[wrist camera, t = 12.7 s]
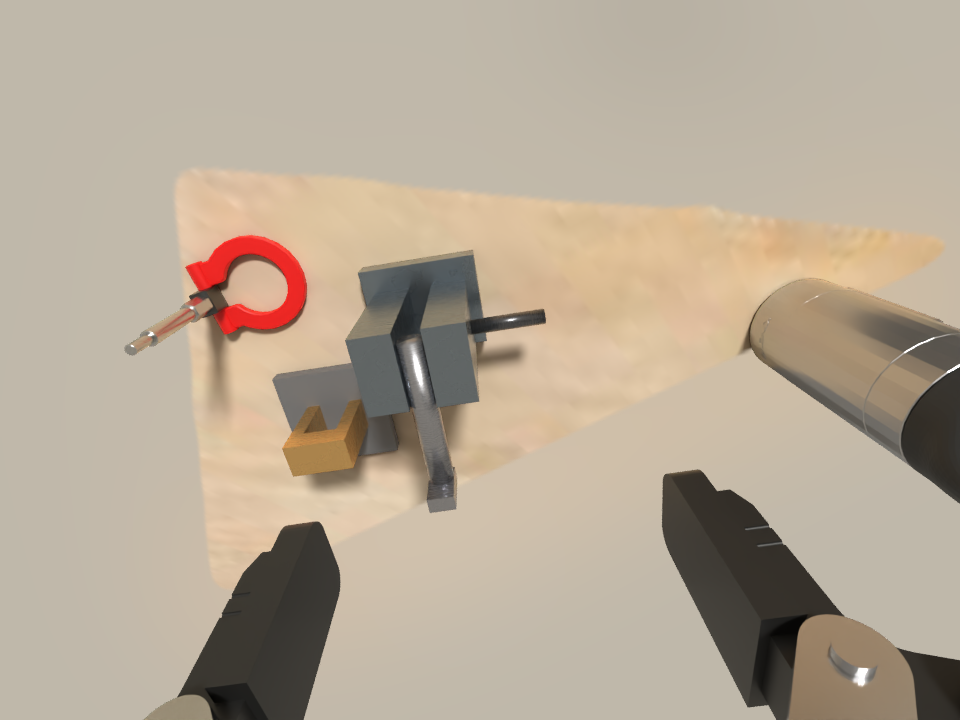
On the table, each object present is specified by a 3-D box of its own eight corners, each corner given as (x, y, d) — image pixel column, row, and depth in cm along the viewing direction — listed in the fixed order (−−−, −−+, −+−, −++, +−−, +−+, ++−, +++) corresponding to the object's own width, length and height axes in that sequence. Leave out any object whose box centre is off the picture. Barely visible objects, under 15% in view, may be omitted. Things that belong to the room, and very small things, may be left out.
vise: (528, 241, 41) (558, 284, 28) (545, 397, 47) (575, 492, 34) (362, 267, 41) (314, 321, 28) (401, 418, 48) (377, 520, 35)
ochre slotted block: (361, 399, 45) (344, 439, 39) (368, 424, 47) (353, 467, 40) (307, 407, 46) (282, 448, 39) (316, 432, 47) (293, 476, 40)
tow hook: (282, 221, 40) (183, 254, 40) (215, 249, 28) (78, 295, 29) (323, 309, 43) (232, 339, 44) (279, 367, 32) (155, 406, 32)
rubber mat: (376, 359, 45) (374, 364, 44) (398, 443, 49) (397, 450, 48) (276, 374, 45) (272, 379, 44) (307, 456, 50) (304, 463, 48)
